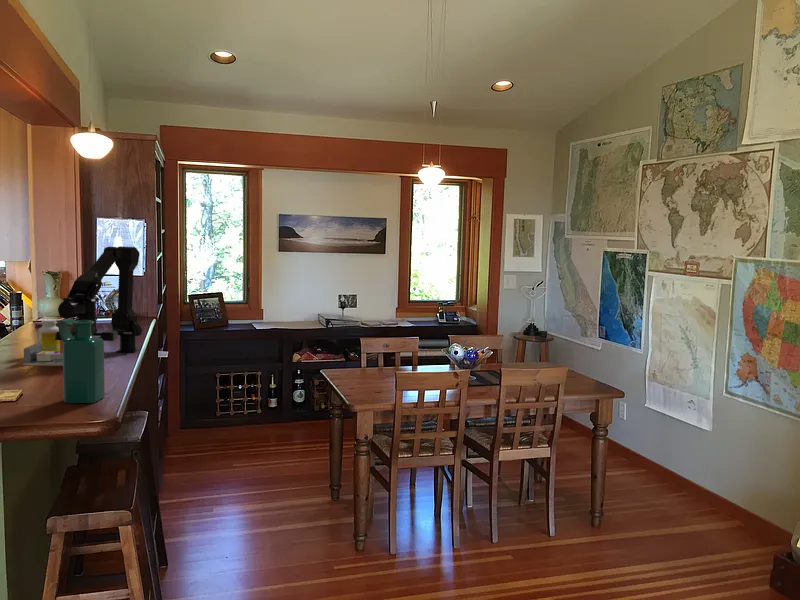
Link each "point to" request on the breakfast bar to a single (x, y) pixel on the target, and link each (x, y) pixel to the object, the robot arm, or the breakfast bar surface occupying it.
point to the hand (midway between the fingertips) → (87, 359)
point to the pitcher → (82, 362)
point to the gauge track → (31, 357)
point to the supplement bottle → (49, 336)
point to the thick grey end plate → (48, 356)
